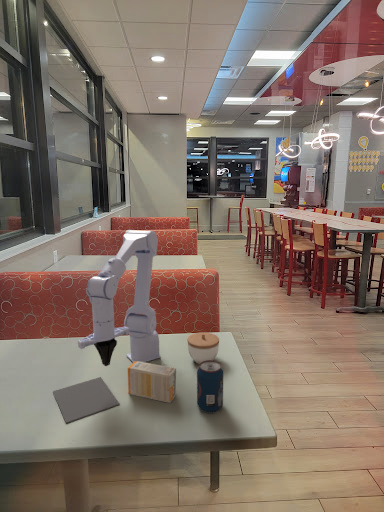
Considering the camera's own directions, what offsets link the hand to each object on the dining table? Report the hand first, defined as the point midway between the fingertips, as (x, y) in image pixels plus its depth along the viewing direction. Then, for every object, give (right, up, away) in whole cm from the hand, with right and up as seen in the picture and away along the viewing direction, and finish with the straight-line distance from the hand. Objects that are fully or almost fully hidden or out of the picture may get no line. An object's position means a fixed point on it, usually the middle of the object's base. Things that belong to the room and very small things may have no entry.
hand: (106, 364), depth 97 cm
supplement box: (+7, -4, +2) cm, 8 cm away
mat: (-5, -9, -2) cm, 11 cm away
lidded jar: (+28, -5, +20) cm, 35 cm away
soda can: (+29, -10, -6) cm, 31 cm away
